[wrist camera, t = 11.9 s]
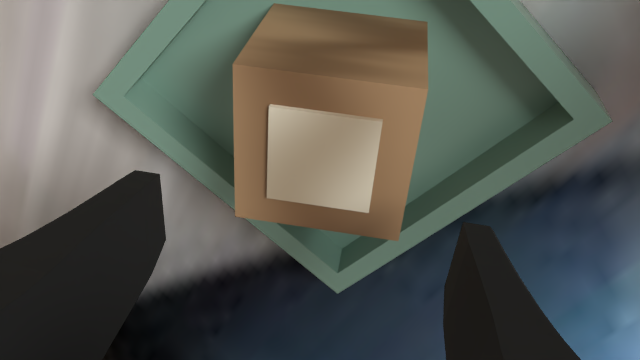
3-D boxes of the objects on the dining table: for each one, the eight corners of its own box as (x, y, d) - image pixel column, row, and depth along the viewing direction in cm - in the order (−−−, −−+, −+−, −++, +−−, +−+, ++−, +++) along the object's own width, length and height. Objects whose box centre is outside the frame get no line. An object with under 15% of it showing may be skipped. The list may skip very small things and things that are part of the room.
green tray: (596, 92, 20) (612, 121, 18) (343, 261, 25) (337, 293, 24) (345, -208, 16) (335, -207, 14) (117, 71, 22) (92, 94, 20)
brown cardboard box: (427, 21, 18) (428, 92, 14) (403, 153, 21) (397, 244, 17) (274, 3, 19) (230, 66, 15) (270, 135, 22) (233, 219, 18)
